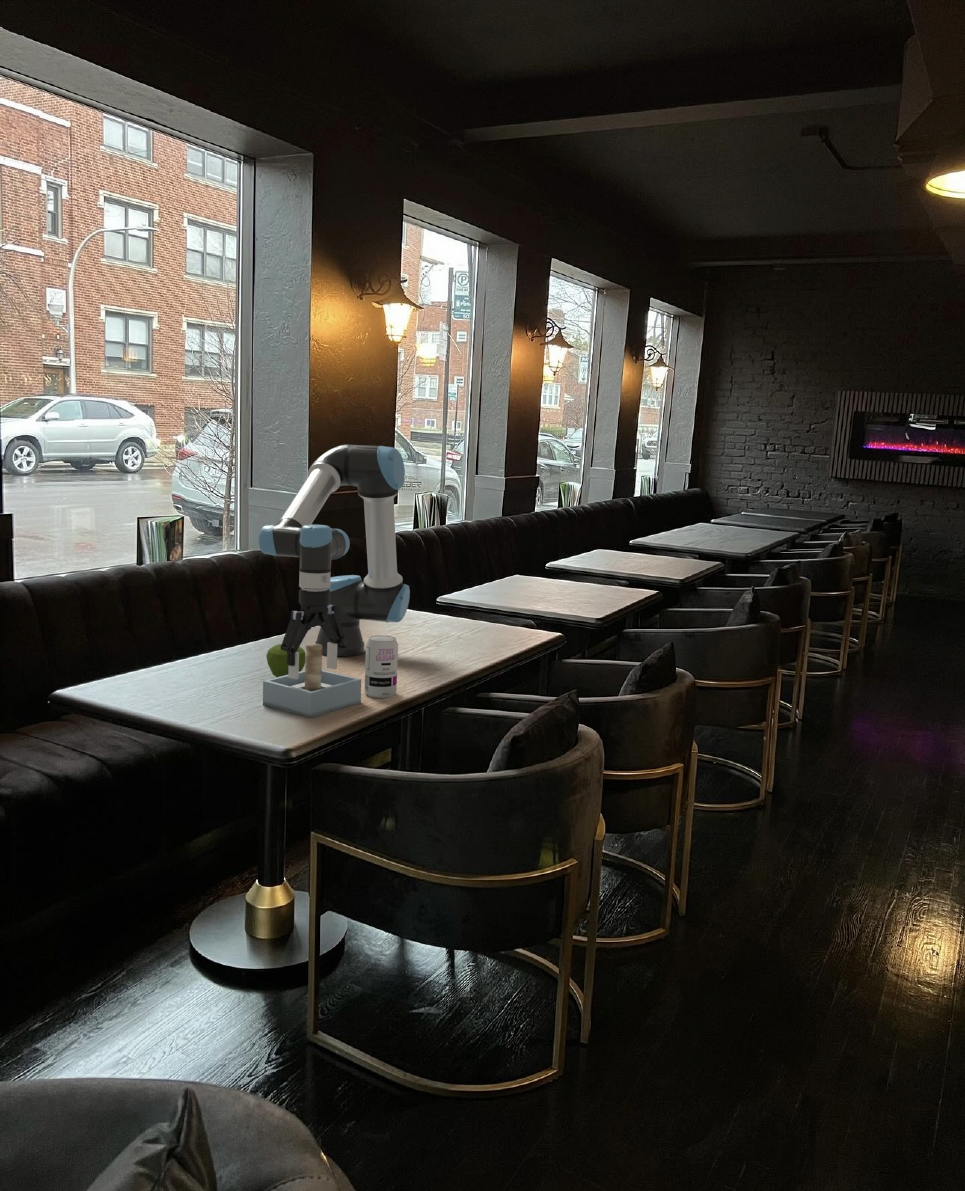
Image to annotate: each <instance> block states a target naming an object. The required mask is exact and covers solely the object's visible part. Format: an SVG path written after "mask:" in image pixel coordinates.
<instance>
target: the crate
mask: <svg viewBox="0 0 965 1191" xmlns="http://www.w3.org/2000/svg"><path fill="white" fill-rule="evenodd" d="M361 702H362V678H358V677H353V676H349V675H346V674H342V673H336V672H334V671H333V672H332V671H328V670H323V669H322V671H321V689H319V690H315V691H308V690H305V669H304V670H302V671H301V672H299V679H297V680H296V679H292V678H288V675H285V676H281V677H274V678H270V679H266V680H265V679H264V680H263V681H262V705H263V706H266V707H271V708H274V709H278V710H281V711H285V712H288V713H291V714H296V715H300V716H303V717H306V718H315V717H317V716H321V715H325V714H329V713H331V712H334V711H336V710H340V709H343V708H347V707H350V706H353V705H356V704H360V703H361Z"/></svg>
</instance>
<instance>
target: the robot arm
mask: <svg viewBox="0 0 965 1191" xmlns="http://www.w3.org/2000/svg"><path fill="white" fill-rule="evenodd" d="M405 471H406V468H405V462H404V459H403V456H402V454H401V453H400V451H399V450H398V449H397V448H395V447H393V446H392V447H391V446H384V445H365V444H364V445H363V444H362V445H361V444H360V445H359V444H342V445H341V444H340V445H338V446H335V447H333V448H330V449H328V450H327V451H326V452H324V453H323V454H322V455H320V456H318V457H317V458H316V460H315V461H313V463H312V464H311V465H310V467H309V468H308V471H307V478H306V480H305V482H304V483H303V484H302V486H301V487H300V489H299V490H298V492H297V493H296V495H295V496H294V498H293V500H292V501H291V502H290V504H289V506H288V507H287V508H286V510H285V511H284V513H283V515H281V518H280V519H278V521H277V523H276V524H275V525H274V524H271V525H264V526H262V528H261V529H260V531H259V535H258V545H259V549H260V551H261V553H262V554H265V555H271V556H276V557H290V558H291V557H293V558H299V579H298V580H299V582H298V583H299V584H298V587H299V588H300V589H299V590H298V603H299V605H300V607H301V608H300V611H297V610H292V611H290V618H289V619H290V620H289V622H288V625H287V628H286V631H285V634H284V637H283V640H282V642H281V644H282V645H281V650H283V651H286V652H287V665H288V678H292V679H296V680H297V679H299V653H298V652H296V651H297V650H298V648H299V646H300V647H301V644H302V642H303V641H304V639H305V637H306V635H307V633H308V632H309V631H311V629H312V628H316V627H320V629H319V630H318V633H317V634H318V635H317V638H316V641H315V643H314V644H321V645H322V656H323V655H325V656H326V668H327V669H331V670H337V669H338V667H337V666H338V657H352V656H357V655H358V656H359V655H361V654H364V653H365V651H366V643H365V642H364V639H363V635H362V632H361V628H360V621H361V620H362V621H371V622H372V621H373V622H380V623H381V622H384V623H400V622H401V621H403V619H404V618H405V616H406V613H407V611H408V607H409V603H410V597H411V596H410V594H411V590H410V585H408V584H405V583H403V582H404V580H403V576H402V575H401V574H399V572H398V564H397V542H396V539H397V538H396V522H395V520H396V518H395V517H396V516H395V500H394V499H395V497H396V496H397V495H398V494H399V490H400V489H402V488H403V487H404V484H405V480H406V479H405V475H406V472H405ZM341 486H342V487H343V486H352V487H357V495H358V496H359V497H360V498H362V499H363V506H364V509H363V510H364V523H365V524H364V526H365V540H366V554H367V555H366V556H367V557H366V559H367V570H368V571H367V572H368V573H367V574H366V576H365V577H364V578H363V580H362V578H361V576H360V575H355V574H351V575H349V574H348V575H338V576H331V571H332V569H331V568H332V561H333V560H334V561H335V560H338V559H340V558H342V557H343V556H345V555H346V554H347V553H348V551H349V549H350V544H351V542H350V538H349V536H348V534H347V533H346V532H345V531H343V530H342V529H340V528H331V527H330V526H329V525H325V524H313V522H314V520H315V519H316V518H317V516H318V514H319V513H320V511H321V509H322V508H323V507H324V505H325V503H326V501H327V500H328V498H329V497H330V496H331V493H334V492H337V490H338V489H339V488H340V487H341ZM286 645H287V646H286ZM293 646H294V647H293ZM292 647H293V648H292Z"/></svg>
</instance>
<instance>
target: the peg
mask: <svg viewBox="0 0 965 1191" xmlns="http://www.w3.org/2000/svg"><path fill="white" fill-rule="evenodd" d="M322 662H323V654H322V645H321V644H315V643H307V644H305V665H304V670H305V690H308V691H315V690H319V689H321V671H322V670H323V669H322V668H323V667H322V664H323V663H322Z"/></svg>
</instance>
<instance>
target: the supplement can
mask: <svg viewBox="0 0 965 1191" xmlns="http://www.w3.org/2000/svg"><path fill="white" fill-rule="evenodd" d="M398 655H399V643H398V642H397V638H396V637H394V636H392V635H382V634H379V635H371V636H369V637H368V639H367V641H366V643H365V665H364V666H365V667H364V668H365V669H364V693H365V695H367V696H368V697H369V698H375V699H387V698H391V697H394V696H395V695H396V693H397V688H398V687H397V686H398V683H397V682H398V662H399V660H398V659H399V658H398V657H399V656H398Z"/></svg>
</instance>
